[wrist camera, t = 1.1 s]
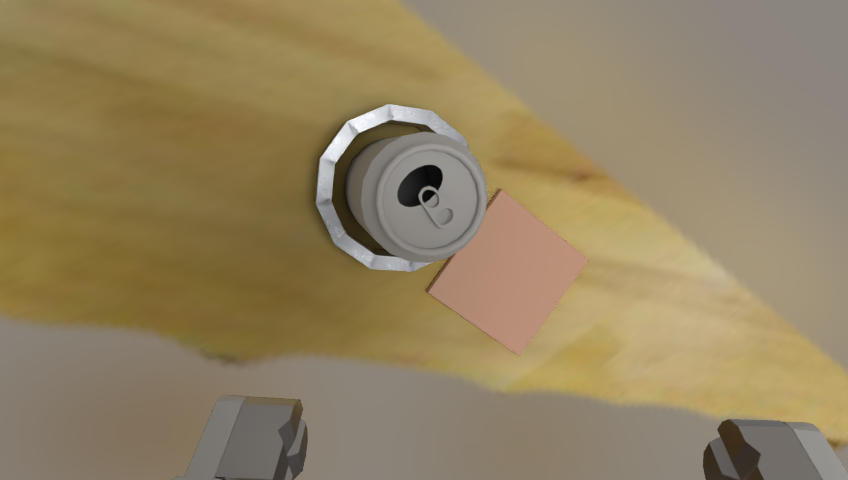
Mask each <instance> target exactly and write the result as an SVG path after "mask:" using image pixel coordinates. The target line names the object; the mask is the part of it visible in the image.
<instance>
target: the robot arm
mask: <svg viewBox="0 0 848 480" xmlns="http://www.w3.org/2000/svg"><path fill="white" fill-rule="evenodd" d="M302 411H303V407H302V404H301V400H300V399H283V398H266V397H250V396H232V395H222V396H221V397H220V398H219V400H218V401H217V402H216V403H215V406H214V408H213V410H212V412H211V415H210V417H209V419H208V422H207V424H206V427H205V429H204V431H203V434H202V436H201V438H200V441H199V443H198V445H197V448H196V450H195V452H194V455H193V457H192V459H191V462H190V464H189V466H188V469H187V471H186V474H185V476H176V477H175V478H174V479H173V480H294V479H295V478H296V477H297V476H298V475H299V474H300V473H301V472H302V471H303V466H304V462H305V458H306V450H307V442H308V437H307V436H308V435H307V426H306V423H305V422H304V421H303V420H302V419H301V415H302ZM717 430H718V432H719V434H720V437H719V438H717V439H715V440H713V441H711V442H709V444H708V446H707V447H706V449H705V451H704V457H703V469H704V474H705V478H706V480H848V474H847V473H846V471H845V469H844V468H843V466H842V464H841V463H840V461H839V460H838V458H837V456H836V455H835V453H834V452H833V450H832V448H831V447H830V445H829V444H828V442H827V441H826V439H825V437H824V436H823V434H822V433H821V431H820V430H819V429H818V428H817V427H816V426H815V425H813V424H811V423H806V422H781V421H772V420H739V419H728V420H725V421H723V422H722V423H721V425H720V426H719V428H718V429H717Z"/></svg>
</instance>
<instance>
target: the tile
mask: <svg viewBox="0 0 848 480" xmlns="http://www.w3.org/2000/svg"><path fill="white" fill-rule="evenodd" d="M588 260H589V259H587V258H586V257H585V256H584V255H582V254H581V253H580V252H579V251H578V250H576V249H575V248H574V247H573V246H571V245H570V244H569V243H568V242H566V241H565V240H564V239H563V238H561V237H560V236H559V235H558V234H556V233H555V232H554V231H553V230H551V229H550V228H549V227H548V226H547V225H545V224H544V223H543V222H542V221H540V220H539V219H538V218H537V217H535V216H534V215H533V214H532V213H530V212H529V211H528V210H527V209H525V208H524V207H523V206H522V205H520V204H519V203H518V202H517V201H516V200H514V199H513V198H512V197H511V196H509V195H508V194H507V193H506V192H504V191H503V190H502V189H499V190H498V191H497V193H496V194H495V195H494V197H493V198H492V200H491V201H490V202H489V204H488V205H487V206H486V213H485V217H484V219H483V221H482V223H481V226H480V228H479V230H478V232H477V234H476V235H475V236H474V237H473V238H472V240H471V241H470V242H469V243H468V244H467V245H466V246H465V247H464V248H463V249H462V250H460V251H458V252H457V253H455V254H453V255H452V256H451V257H450V258H449V259H448V261H447V262H446V264H445V265H444V266H443V268H442V269H441V271H440V272H439V273H438V275H437V276H436V278H435V279H434V280H433V282H432V283H431V285H430V286H429V287H428V289H427V290H426V291H427V292H428V293H429V294H430V295H432V296H433V297H435V298H436V299H438V300H439V301H441V302H442V303H443V304H445V305H446V306H448V307H449V308H451V309H452V310H454V311H455V312H457V313H458V314H459V315H461V316H462V317H464V318H465V319H467V320H468V321H470V322H471V323H472V324H474V325H475V326H477V327H478V328H480V329H481V330H483V331H484V332H485V333H487V334H488V335H490V336H491V337H493V338H494V339H496V340H497V341H499V342H500V343H501V344H503V345H504V346H506V347H507V348H509V349H510V350H512V351H513V352H514V353H516V354H517V355H519V356H520V355H521V354H522V353H523V351H524V350H525V348H526V347H527V346H528V344H529V343H530V341H531V340H532V339H533V337H534V336H535V334H536V333H537V331H538V330H539V329H540V327H541V326H542V324H543V323H544V322H545V320H546V319H547V317H548V316H549V315H550V313H551V312H552V310H553V309H554V308H555V306H556V305H557V303H558V302H559V301H560V299H561V298H562V296H563V295H564V294H565V292H566V291H567V289H568V288H569V287H570V285H571V284H572V282H573V281H574V280H575V278H576V277H577V275H578V274H579V273H580V271H581V270H582V268H583V267H584V266H585V264H586V263H587V261H588Z"/></svg>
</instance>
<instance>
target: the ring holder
mask: <svg viewBox="0 0 848 480" xmlns="http://www.w3.org/2000/svg"><path fill="white" fill-rule="evenodd" d="M384 122H386V123H393V124H400V125H407V126H414V127H417V128H419V129H420V130H421V131H422V132H430V133H436V134H443V135H446V136H448V137H450V138H452V139H454V140H456V141H458V142H460V143H461V144H463V145H464V146H465V147H466V148H467V149H468V150H469V147H468V145H467V142H466V139H465V138H464V137H463V136H462V135H461V134H459V133H458V132H457V131H456V130H455V129H453V128H452V127H451V126H450V125H449V124H447V123H446V122H445V121H444V120H442V119H441V118H440V117H439V116H438V115H436V114H435V113H434V112H433V111H431V110H424V109H417V108H411V107H404V106H398V105H391V104H387V105H385V106H383V107H380V108H378V109H376V110H373V111H371V112H368V113H366V114H364V115H361V116H359V117H357V118H354V119H352V120H349V121H347V122H345V123H344V124H343V125H342V126H341V127H340V129H339V130H338V131H337V133H336V134H335V136H334V137H333V138H332V140H331V141H330V143H329V144H328V145H327V147H326V148H325V149H324V151H323V152H322V154H321V155H320V156H319V158H318V164H317V175H316V186H315V197H314V201H315V203H316V205H317V208H318V210H319V212H320V214H321V216H322V218H323V220H324V222H325V224H326V227H327V229H328V231H329V233H330V235H331V237H332V239H333V242H334V244H335V245H336V246H338V247H339V248H341V249H342V250H344V251H345V252H347V253H348V254H350V255H351V256H353V257H354V258H356V259H357V260H358V261H360V262H361V263H363V264H364V265H366V266H367V267H369V268H370V269H380V270H395V271H410V272H413V271H415V270H417V269H419V268H421V267H424V266H426V265H428V264H430V263H432V262H429V263H422V262H411V261H406V260H404V259H402V258H399V257H397V256H395V255H392V254H390V253H389V252H388V251H387V250H386V249H375V248H369V247H368V246H366V245H365V244H363V243H362V242H360V241H359V240H357V239H356V238H355V237H353V236H352V235H350V234H349V233H347V232H346V231H345V230H344V228H343V226H342V224H341V222H340V220H339V218H338V215H337V213H336V211H335V209H334V207H333V205H332V202H331V198H332V188H333V177H334V167H335V163H336V162H337V161H338V159H339V158H340V156H341V155H342V154H343V152H344V151H345V149H346V148H347V147H348V145H349V144H350V143H351V141H352V140H353V138H354V137H355V136H356V134H358V133H360V132H363V131H365V130H367V129H370V128H372V127H374V126H377V125H379V124H381V123H384ZM469 151H470V150H469Z"/></svg>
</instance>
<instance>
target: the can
mask: <svg viewBox="0 0 848 480" xmlns="http://www.w3.org/2000/svg"><path fill="white" fill-rule="evenodd" d="M344 191H345V195H346V200H347V205H348V208H349V209H350V211H351V213H352V215H353V216H354V218H355V220H356V221H357V222H358V223H359V224H360V225H361V226H362V227H363V228H364V229H365V230H366V231H367V232H368V233H369V234H370V235H371V236H372V237H373V238H374V239H375V240H376V241H377V242H378V243H379V244H380V245H381V246H382V247H383V248H384V249H386V250H387V251H388V252H389V253H390V254H392V255H395V256H397V257H399V258H402V259H404V260H406V261H411V262H422V263H429V262H434V261H438V260H442V259H447V258H448V257H450V256H452V255H453V254H455V253H457V252H458V251H460V250H462V249H463V248H464V247H465V246H466V245H467V244H468V243H469V242H470V241H471V240H472V238H473V237H474V236H475V235H476V234H477V232H478V230H479V228H480V226H481V223H482V221H483V219H484V217H485V213H486V206H487V200H488V193H487V186H486V179H485V175H484V173H483V171H482V169H481V167H480V165H479V163H478V161H477V159H476V158H475V157H474V155H473V154H472V153H471V152H470V151H469V150H468V149H467V148H466V147H465V146H464V145H463V144H461V143H460V142H458V141H456V140H454V139H452V138H450V137H448V136H446V135H443V134H436V133H430V132H420V133H415V134H409V135H404V136H398V137H392V138H387V139H381V140H377V141H375V142H374V143H372V144H370V145H368V146H366V147H365V148H363V149H362V151H361V152H360V153H359V154H358V155H357V156H356V157H355V158H354V159H353V161H352V163H351V165H350V167H349V170H348V172H347V174H346V181H345V190H344Z"/></svg>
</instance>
